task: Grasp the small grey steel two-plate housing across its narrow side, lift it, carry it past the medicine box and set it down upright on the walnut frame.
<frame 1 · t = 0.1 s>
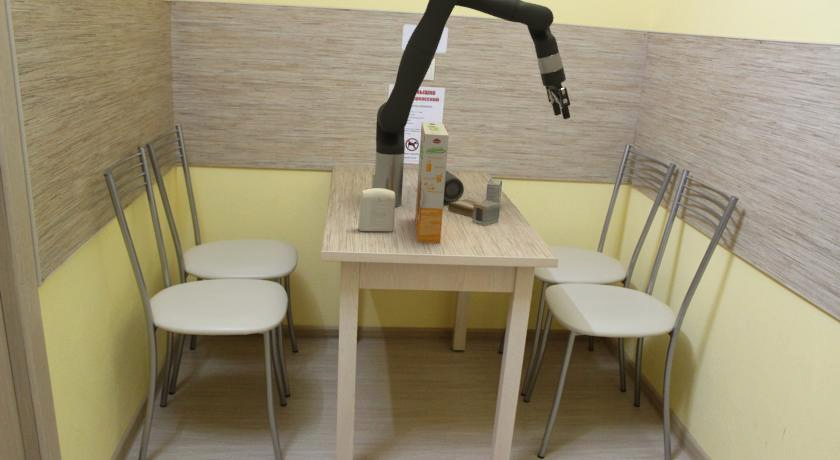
hand: (562, 116, 223), 31 cm above the table, tool tilted 20°, fingers open, 8 cm apart
steel housing: (485, 222, 211), on the table
bluetooth speaker: (439, 197, 237), on the table
walnut frame: (471, 211, 221), on the table
beige upright block: (376, 230, 195), on the table
medicine box: (492, 207, 230), on the table
cereal box: (426, 231, 198), on the table
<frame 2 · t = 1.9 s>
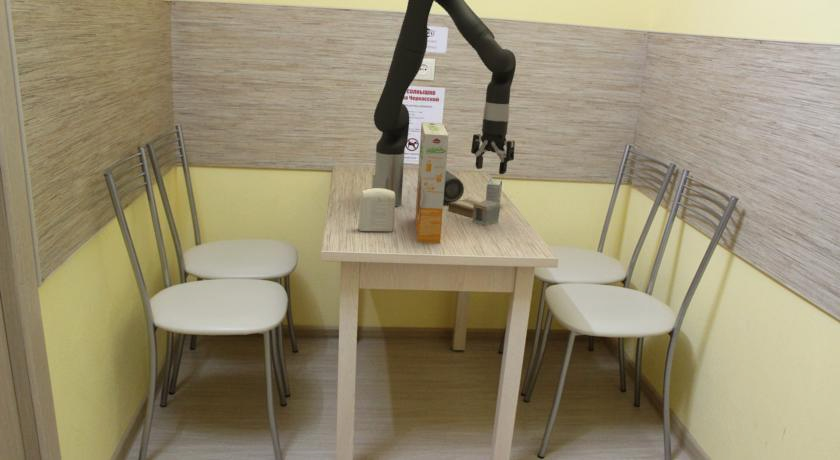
hand: (490, 171, 206), 16 cm above the table, tool pointing down, fingers open, 8 cm apart
nothing on the table moved.
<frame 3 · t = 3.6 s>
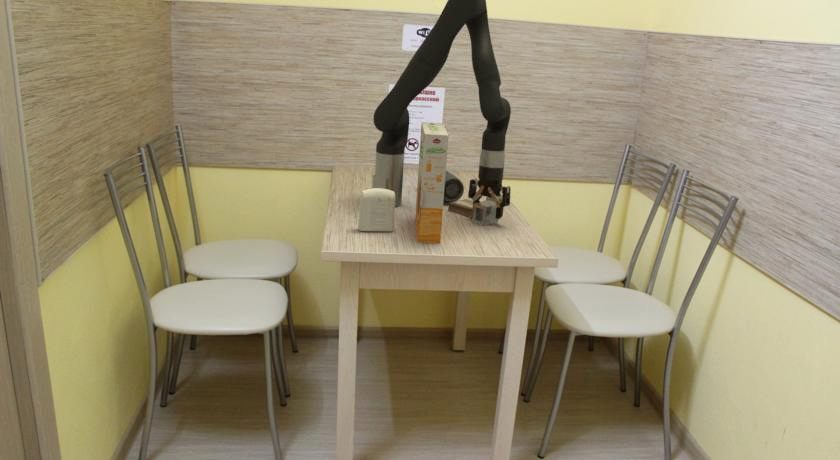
hand: (487, 215, 210), 2 cm above the table, tool pointing down, fingers open, 8 cm apart
nothing on the table moved.
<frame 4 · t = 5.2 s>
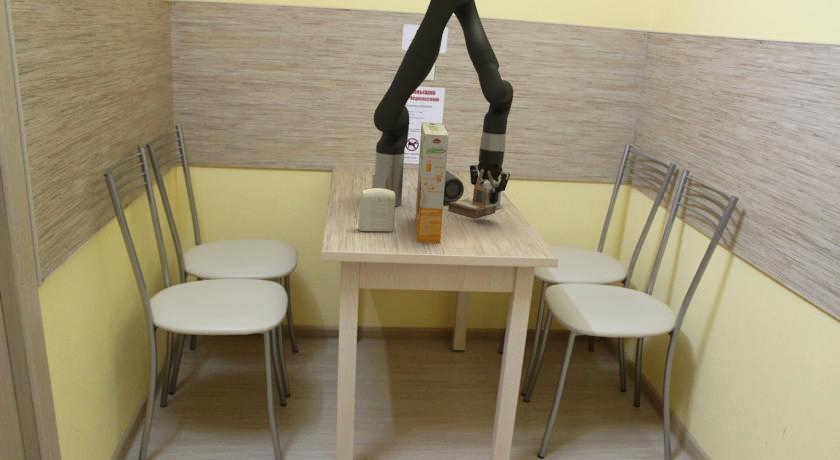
hand: (485, 201, 209), 7 cm above the table, tool pointing down, fingers closed on steel housing, 5 cm apart
steel housing: (485, 204, 209), point 5 cm above the table, touching gripper
everything else where it was.
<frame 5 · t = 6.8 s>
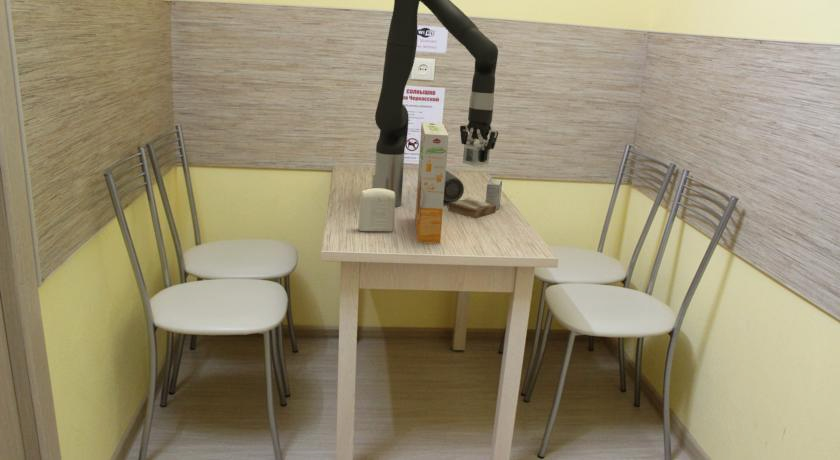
hand: (475, 160, 216), 17 cm above the table, tool pointing down, fingers closed on steel housing, 5 cm apart
steel housing: (475, 163, 216), point 16 cm above the table, touching gripper
everything else where it was.
when the fingers open (5 cm above the table, at t = 9.6 s): steel housing stays where it is, resting on walnut frame.
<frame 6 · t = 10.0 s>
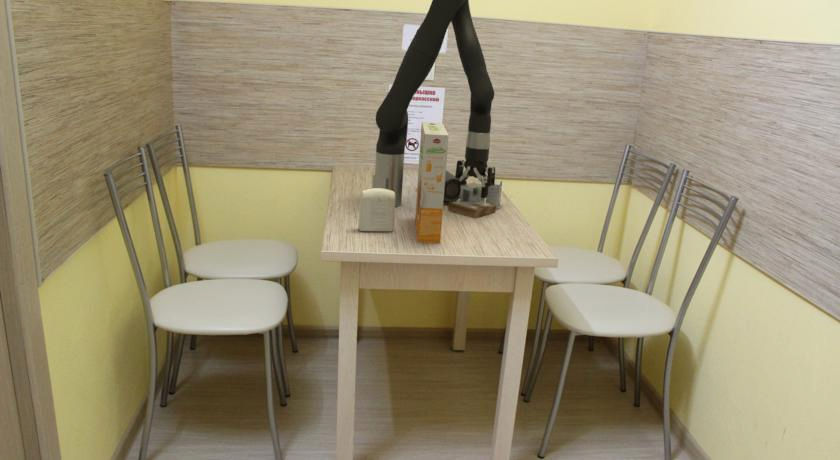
hand: (473, 195, 220), 6 cm above the table, tool pointing down, fingers open, 8 cm apart
steel housing: (471, 203, 220), point 3 cm above the table, touching walnut frame
everything else where it was.
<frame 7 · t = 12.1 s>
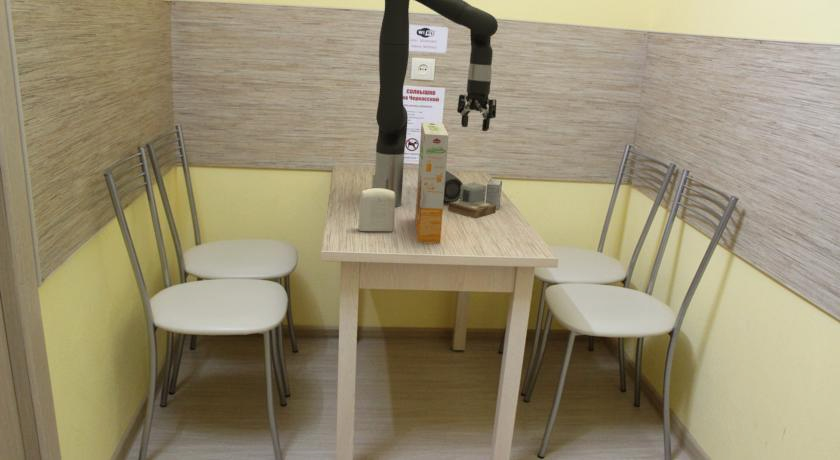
hand: (474, 128, 222), 26 cm above the table, tool pointing down, fingers open, 8 cm apart
nothing on the table moved.
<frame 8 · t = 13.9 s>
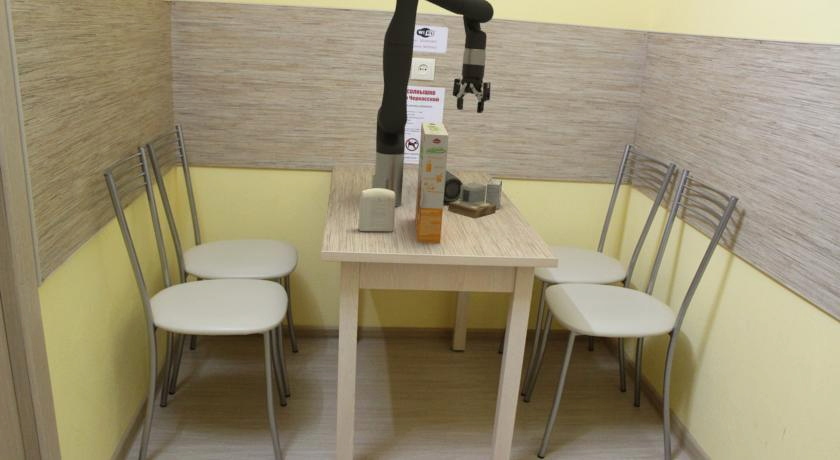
hand: (469, 111, 232), 30 cm above the table, tool pointing down, fingers open, 8 cm apart
nothing on the table moved.
at the end: steel housing inside the target area on the walnut frame (0.2 cm from its centre), point 2.8 cm above the walnut frame's base; steel housing tilted 0°; the gripper is holding nothing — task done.
